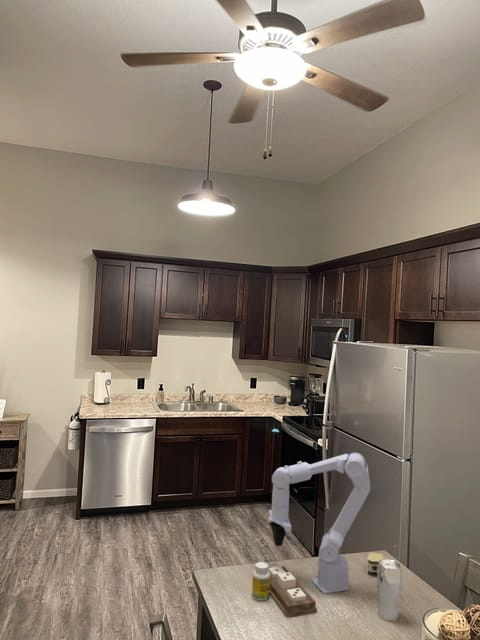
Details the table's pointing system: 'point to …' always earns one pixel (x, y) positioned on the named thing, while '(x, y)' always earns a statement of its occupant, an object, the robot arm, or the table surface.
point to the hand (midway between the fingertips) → (278, 545)
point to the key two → (286, 581)
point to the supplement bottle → (261, 582)
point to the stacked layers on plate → (374, 561)
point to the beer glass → (389, 588)
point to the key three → (295, 595)
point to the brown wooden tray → (285, 602)
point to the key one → (275, 571)
